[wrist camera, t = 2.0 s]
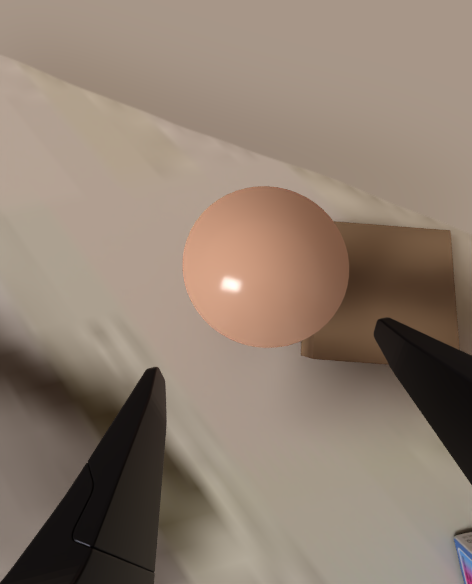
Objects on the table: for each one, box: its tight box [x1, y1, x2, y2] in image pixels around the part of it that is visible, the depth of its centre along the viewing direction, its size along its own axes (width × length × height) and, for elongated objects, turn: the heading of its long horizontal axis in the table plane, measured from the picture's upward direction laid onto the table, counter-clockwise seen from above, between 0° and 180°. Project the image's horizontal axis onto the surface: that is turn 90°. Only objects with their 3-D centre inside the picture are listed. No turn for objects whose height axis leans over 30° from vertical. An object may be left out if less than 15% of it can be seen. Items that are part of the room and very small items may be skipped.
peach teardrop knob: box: [183, 186, 349, 348], centre depth 14 cm, size 5×5×13 cm
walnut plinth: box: [301, 222, 460, 365], centre depth 19 cm, size 10×10×3 cm
